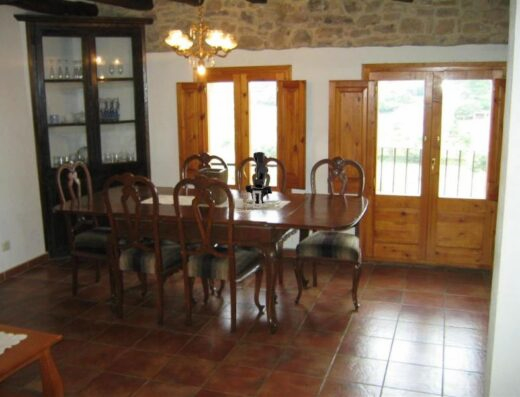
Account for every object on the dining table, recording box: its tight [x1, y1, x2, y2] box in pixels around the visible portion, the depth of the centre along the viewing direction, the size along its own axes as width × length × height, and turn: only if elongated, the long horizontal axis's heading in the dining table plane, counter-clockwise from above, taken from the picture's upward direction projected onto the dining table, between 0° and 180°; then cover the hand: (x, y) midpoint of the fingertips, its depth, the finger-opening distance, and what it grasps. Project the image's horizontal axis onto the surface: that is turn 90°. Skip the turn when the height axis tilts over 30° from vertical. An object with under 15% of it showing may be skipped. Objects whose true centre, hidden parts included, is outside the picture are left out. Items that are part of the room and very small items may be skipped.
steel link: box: [252, 191, 262, 209], centre depth 395 cm, size 2×6×12 cm, turn 74°
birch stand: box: [234, 193, 253, 213], centre depth 389 cm, size 11×10×13 cm
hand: (256, 199), depth 393 cm, fingers closed on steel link, 6 cm apart
